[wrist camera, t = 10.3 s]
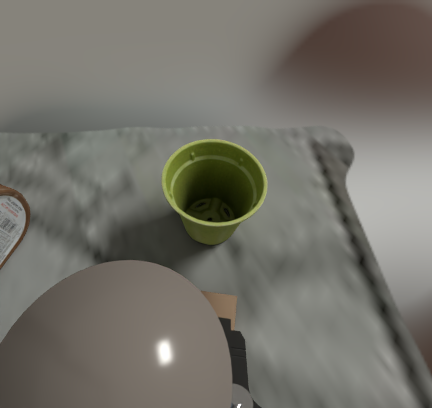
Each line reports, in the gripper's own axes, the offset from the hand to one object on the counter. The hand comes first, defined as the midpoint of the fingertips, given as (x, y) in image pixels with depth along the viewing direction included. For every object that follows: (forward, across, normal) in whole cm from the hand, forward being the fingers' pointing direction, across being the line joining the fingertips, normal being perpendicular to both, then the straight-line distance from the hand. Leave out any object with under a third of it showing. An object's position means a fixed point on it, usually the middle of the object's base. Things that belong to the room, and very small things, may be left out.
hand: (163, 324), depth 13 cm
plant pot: (+18, -1, 0) cm, 18 cm away
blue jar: (+2, 0, +5) cm, 5 cm away
